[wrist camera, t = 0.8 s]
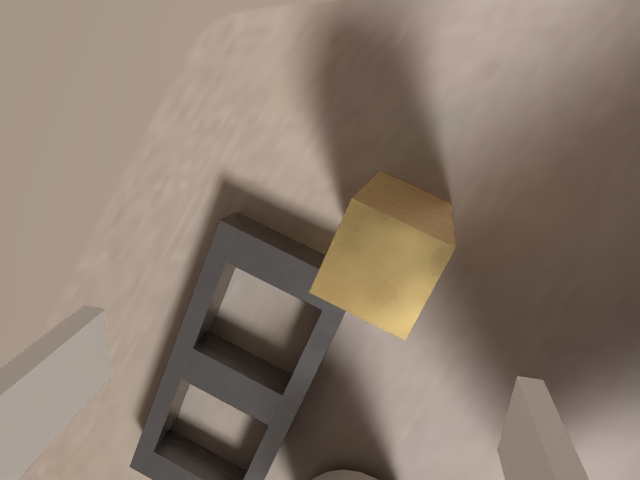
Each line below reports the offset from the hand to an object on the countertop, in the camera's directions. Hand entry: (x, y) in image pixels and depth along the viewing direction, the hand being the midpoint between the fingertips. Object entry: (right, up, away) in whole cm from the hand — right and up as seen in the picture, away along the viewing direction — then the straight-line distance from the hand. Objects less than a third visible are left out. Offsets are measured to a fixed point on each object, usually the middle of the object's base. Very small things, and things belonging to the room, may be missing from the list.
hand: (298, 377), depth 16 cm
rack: (-4, -5, +19) cm, 20 cm away
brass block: (+5, +5, +14) cm, 16 cm away
